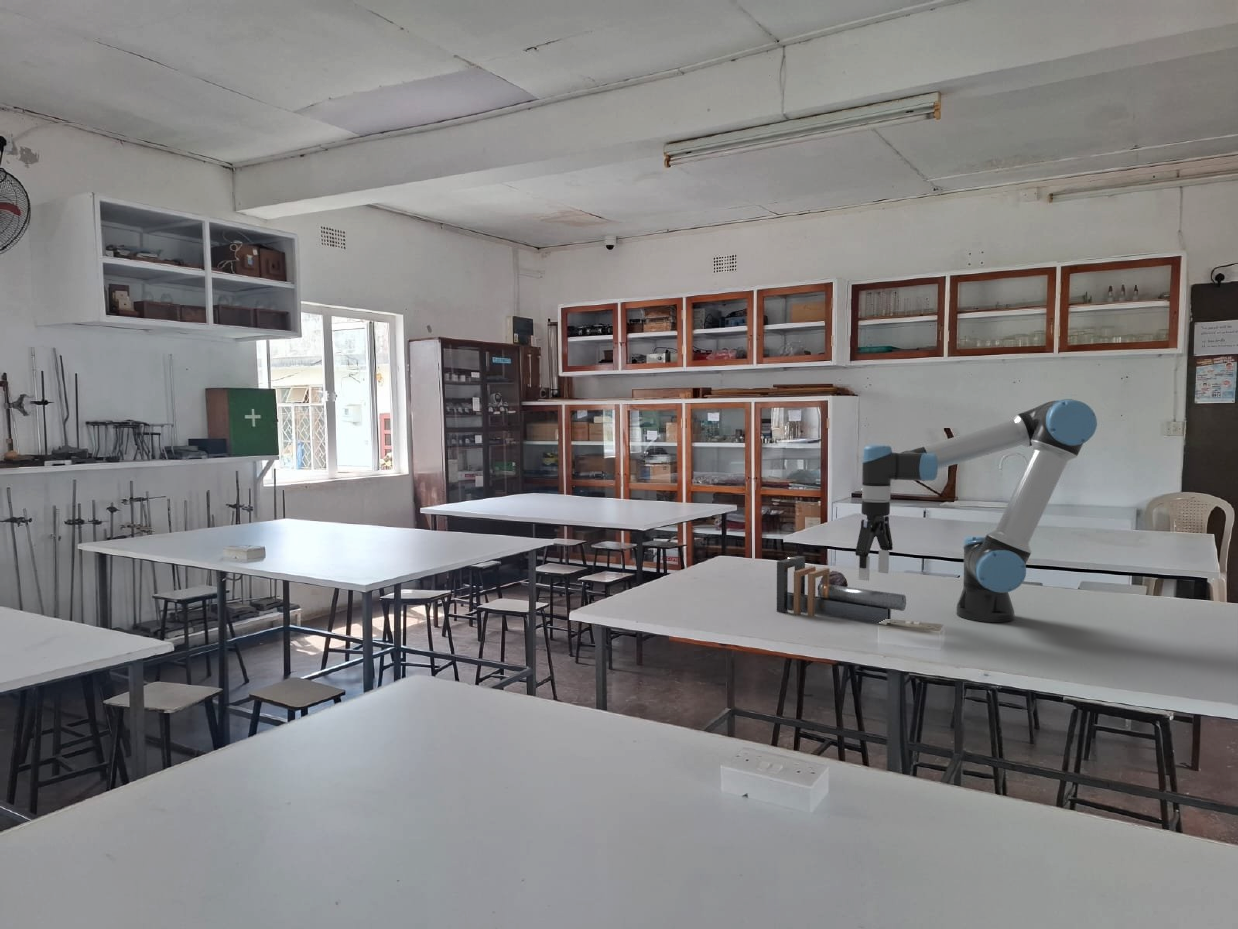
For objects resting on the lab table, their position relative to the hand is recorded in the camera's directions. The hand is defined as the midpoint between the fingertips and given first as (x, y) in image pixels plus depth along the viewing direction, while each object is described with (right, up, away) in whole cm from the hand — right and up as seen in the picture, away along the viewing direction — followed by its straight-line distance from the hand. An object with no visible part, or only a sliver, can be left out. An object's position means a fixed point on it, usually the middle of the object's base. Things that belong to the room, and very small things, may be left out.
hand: (873, 576), depth 222 cm
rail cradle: (-9, -13, +8) cm, 17 cm away
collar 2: (-13, -12, +12) cm, 21 cm away
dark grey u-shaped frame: (-19, -12, +17) cm, 29 cm away
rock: (-4, -12, +28) cm, 31 cm away
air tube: (-3, -8, +3) cm, 9 cm away
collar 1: (-16, -12, +14) cm, 25 cm away
